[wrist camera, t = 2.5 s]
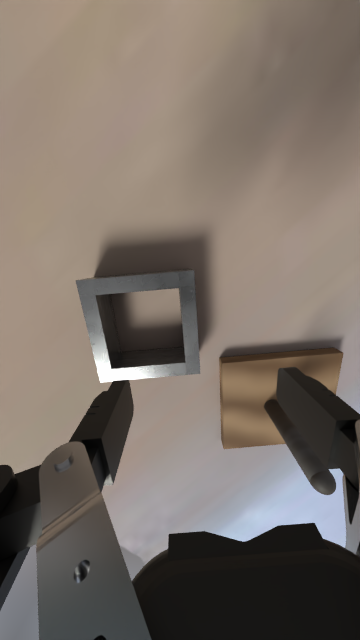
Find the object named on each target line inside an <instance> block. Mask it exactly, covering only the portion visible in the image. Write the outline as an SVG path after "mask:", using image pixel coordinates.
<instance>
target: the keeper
mask: <svg viewBox="0 0 360 640" xmlns="http://www.w3.org/2000/svg"><path fill="white" fill-rule="evenodd" d="M342 358H343V352H341V351H339V350H337V349H335V348H323V349H312V350H301V351H289V352H278V353H267V354H255V355H244V356H233V357H221V358H219V362H220V403H221V440H222V444H223V448H224V449H231V448H242V447H253V446H265V445H276V444H287V446H288V448H289V449H290V451H291V453H292V454H293V456H294V458H295V459H296V461H297V462H298V464H299V466H300V467H301V469H302V471H303V472H304V474H305V475H306V477H307V479H308V480H309V482H310V484H311V485H312V486H313V488H314V489H315V490H317V491H318V492H320V493H321V494H324V495H330V494H332V493H334V491H335V489H336V482H335V479H334V477H333V475H332V474H331V473H330V471H329V470H328V469H326V467H325V466H324V465H323V463H322V462H321V461H320V459H319V458H318V457H317V455H316V454H315V452H314V451H313V450H312V448H311V447H310V446H309V444H308V443H307V442H306V440H305V439H304V437H303V436H302V435H301V433H300V432H299V431H298V429H297V428H296V427H295V425H294V424H293V423H292V421H291V420H290V418H289V417H288V416H287V414H286V413H285V412H284V410H283V409H282V408H281V406H280V405H279V403H278V400H277V396H276V389H277V376H278V370H279V368H286V367H296V368H298V369H299V370H300V371H301V372H302V373H304V374H305V375H306V376H310V377H312V378H314V379H316V380H318V381H320V382H321V383H322V384H323V385H324V386H326V387H327V388H328V390H331V391H332V392H333V393H334V394H335V395H336V389H337V384H338V379H339V374H340V368H341V363H342Z"/></svg>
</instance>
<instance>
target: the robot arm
mask: <svg viewBox="0 0 360 640" xmlns="http://www.w3.org/2000/svg"><path fill="white" fill-rule="evenodd" d="M276 396H277V400H278V403H279V405H280V406H281V408H282V409H283V410H284V412H285V413H286V414H287V416H288V417H289V418H290V420H291V421H292V423H293V424H294V425H295V427H296V428H297V429H298V431H299V432H300V433H301V435H302V436H303V437H304V439H305V440H306V442H307V443H308V444H309V446H310V447H311V448H312V450H313V451H314V452H315V454H316V455H317V457H318V458H319V459H320V461H321V462H322V463H323V465H324V466H325V467H326V469H337V468H340V469H341V471H342V472H343V473H344V475H343V494H344V507H345V521H346V546H345V548H344V547H342V546H340V545H338V544H335V543H333V542H330V541H328V540H325V539H323V538H322V536H321V534H320V533H319V531H318V529H317V527H316V525H315V523H307V524H294V525H281V526H277V527H275V528H273V529H271V530H269V531H267V532H265V533H263V534H261V535H259V536H257V537H255V538H253V539H251V540H249V541H246V542H242V541H238V540H234V539H230V538H227V537H223V536H220V535H216V534H212V533H209V532H205V531H202V532H189V533H176V534H169V543H168V549H167V550H165V551H163V552H161V553H160V554H158V555H157V556H155V557H154V558H153V559H151V560H150V561H149V562H148V563H147V564H146V565H145V566H144V567H143V568H142V569H141V570H140V572H139V573H138V574H137V575H136V576H135V578H134V579H133V581H131V578H130V576H129V572H128V569H127V567H126V564H125V561H124V558H123V555H122V552H121V549H120V546H119V543H118V540H117V537H116V534H115V531H114V528H113V525H112V522H111V519H110V516H109V514H108V511H107V508H106V505H105V502H104V499H103V496H102V493H101V491H102V488H103V485H113V483H114V480H115V476H116V473H117V469H118V466H119V462H120V459H121V455H122V452H123V448H124V445H125V441H126V438H127V435H128V431H129V428H130V424H131V421H132V417H133V410H134V406H133V399H132V394H131V388H130V383H129V380H117V381H113V382H112V384H111V386H110V388H109V389H108V391H103V392H102V393H101V394H100V395H98V396H97V397H96V398H95V399H94V401H93V403H92V404H91V406H90V408H89V409H88V411H87V413H86V415H85V416H84V417H83V419H82V421H81V422H80V424H79V426H78V427H77V429H76V431H75V432H74V434H73V436H72V437H71V439H70V441H69V442H68V443H66V444H63V445H61V446H60V447H58V448H56V449H55V450H54V451H52V452H51V453H50V454H49V455H48V456H47V457H46V458H45V460H44V461H43V463H42V464H41V465H39V466H36V467H34V468H31V469H28V470H25V471H23V472H20V473H17V474H14V472H13V470H12V468H11V467H10V466H8V465H0V610H1V608H2V606H3V604H4V602H5V599H6V597H7V595H8V593H9V591H10V589H11V587H12V585H13V583H14V580H15V578H16V576H17V574H18V572H19V570H20V568H21V566H22V564H23V561H24V559H25V557H26V555H27V553H28V551H29V549H30V547H31V546H33V545H35V544H37V548H36V553H37V584H38V585H37V586H38V616H39V640H360V414H359V413H357V412H356V411H355V410H354V409H353V408H351V407H350V406H349V405H348V404H346V403H345V402H344V401H343V400H342V399H340V398H339V397H338V396H336V395H335V394H334V393H333V392H332V391H331V390H328V388H327V387H326V386H324V385H323V384H322V383H321V382H320V381H318V380H316V379H314V378H312V377H310V376H306V375H305V374H304V373H302V372H301V371H300V370H299V369H298V368H296V367H286V368H279V370H278V376H277V389H276Z"/></svg>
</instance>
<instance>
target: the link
mask: <svg viewBox="0 0 360 640" xmlns="http://www.w3.org/2000/svg"><path fill="white" fill-rule="evenodd" d="M76 284H77V288H78V292H79V296H80V301H81V305H82V309H83V313H84V317H85V321H86V325H87V330H88V334H89V338H90V342H91V346H92V350H93V354H94V358H95V363H96V367H97V371H98V375H99V379H100V382H110V381H117V380H133V379H144V378H156V377H167V376H178V375H190V374H200V360H199V344H198V327H197V310H196V293H195V277H194V270H192V269H183V270H172V271H161V272H149V273H138V274H126V275H115V276H103V277H93V278H87V279H82V280H76ZM173 288H179V295H180V307H181V318H182V330H183V342H184V347H175V348H164V349H152V350H141V351H130V352H121V347H120V342H119V337H118V332H117V327H116V322H115V316H114V311H113V306H112V301H111V296H110V294H115V293H127V292H138V291H150V290H161V289H173Z"/></svg>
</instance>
